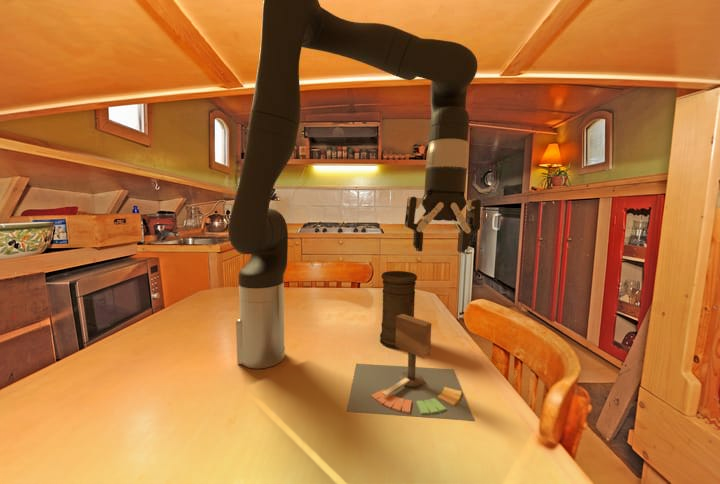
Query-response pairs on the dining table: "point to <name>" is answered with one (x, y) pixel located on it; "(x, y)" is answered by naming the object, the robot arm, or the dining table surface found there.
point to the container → (396, 302)
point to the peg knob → (411, 348)
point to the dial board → (408, 393)
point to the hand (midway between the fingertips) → (440, 251)
